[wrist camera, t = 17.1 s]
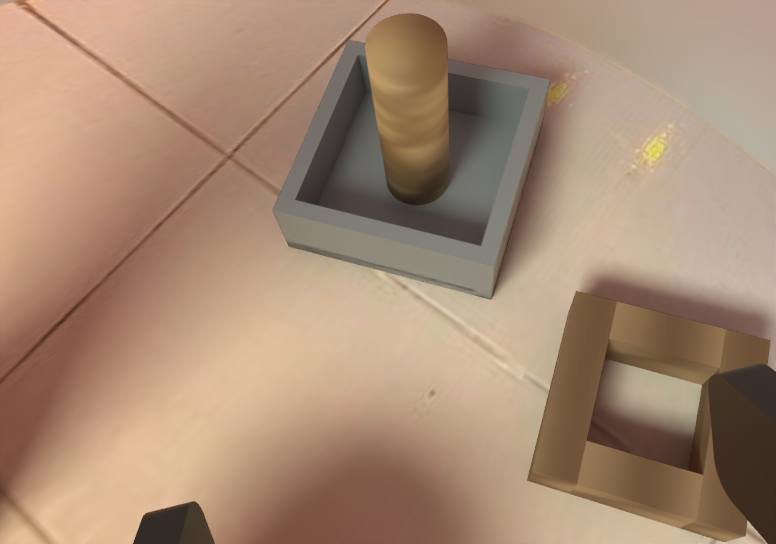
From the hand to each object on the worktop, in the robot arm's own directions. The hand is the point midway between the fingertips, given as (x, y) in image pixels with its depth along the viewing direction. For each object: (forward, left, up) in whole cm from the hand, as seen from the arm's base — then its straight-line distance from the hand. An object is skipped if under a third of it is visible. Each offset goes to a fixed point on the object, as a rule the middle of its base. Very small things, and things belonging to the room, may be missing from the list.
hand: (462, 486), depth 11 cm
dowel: (-9, +22, -28) cm, 36 cm away
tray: (-9, +22, -29) cm, 37 cm away
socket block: (+7, +11, -29) cm, 31 cm away
